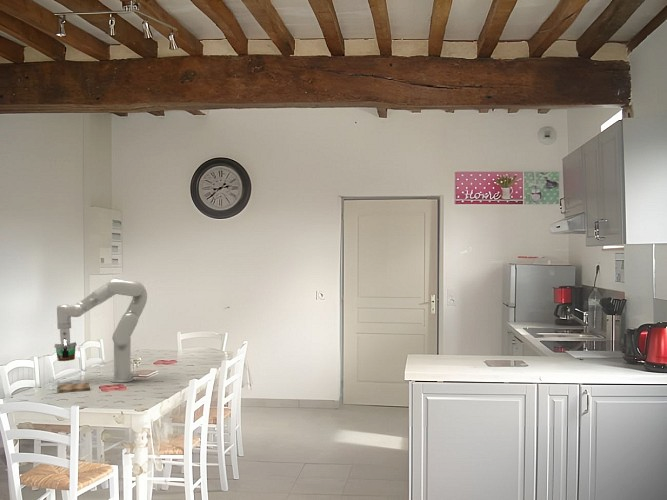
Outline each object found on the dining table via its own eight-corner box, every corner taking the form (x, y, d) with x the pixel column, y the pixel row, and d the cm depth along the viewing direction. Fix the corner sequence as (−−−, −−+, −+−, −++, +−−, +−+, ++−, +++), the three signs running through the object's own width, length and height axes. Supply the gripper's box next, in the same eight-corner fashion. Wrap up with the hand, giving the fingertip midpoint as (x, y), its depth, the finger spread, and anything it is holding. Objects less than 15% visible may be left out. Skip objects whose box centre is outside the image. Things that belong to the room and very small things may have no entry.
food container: (54, 362, 404) (53, 344, 404) (55, 360, 410) (54, 343, 410) (77, 360, 408) (76, 343, 408) (77, 358, 414) (76, 341, 414)
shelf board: (89, 385, 404) (89, 379, 404) (90, 390, 389) (90, 384, 389) (57, 387, 398) (57, 381, 398) (57, 393, 383) (57, 386, 383)
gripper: (71, 326, 403) (72, 358, 403) (71, 324, 419) (72, 354, 419) (57, 327, 400) (58, 359, 400) (57, 325, 416) (58, 355, 416)
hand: (65, 356), depth 409 cm, fingers closed on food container, 5 cm apart
